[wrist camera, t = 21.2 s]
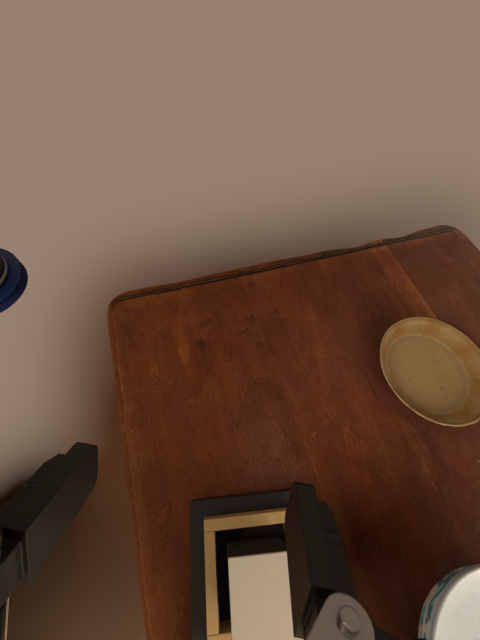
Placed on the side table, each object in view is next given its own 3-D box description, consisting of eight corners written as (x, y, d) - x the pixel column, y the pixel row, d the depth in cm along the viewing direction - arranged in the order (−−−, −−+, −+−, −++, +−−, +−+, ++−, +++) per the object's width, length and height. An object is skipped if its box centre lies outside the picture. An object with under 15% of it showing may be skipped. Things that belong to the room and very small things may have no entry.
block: (229, 605, 27) (232, 650, 20) (226, 538, 29) (228, 558, 22) (282, 599, 27) (304, 640, 20) (275, 533, 30) (292, 551, 23)
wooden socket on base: (193, 657, 26) (188, 683, 23) (191, 500, 32) (187, 503, 28) (323, 636, 27) (337, 658, 24) (299, 488, 33) (307, 489, 30)
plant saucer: (494, 367, 41) (510, 361, 39) (457, 455, 35) (474, 454, 33) (398, 307, 45) (408, 298, 43) (351, 378, 39) (359, 372, 37)
